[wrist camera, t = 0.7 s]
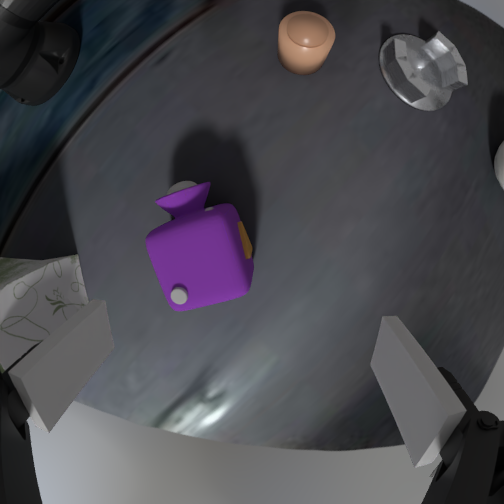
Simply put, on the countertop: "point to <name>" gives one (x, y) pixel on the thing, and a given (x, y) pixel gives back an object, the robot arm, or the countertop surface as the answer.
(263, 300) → the countertop surface
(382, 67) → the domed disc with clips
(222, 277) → the toy camera
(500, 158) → the lidded jar
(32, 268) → the grocery bag
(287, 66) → the tan tapered cylinder
